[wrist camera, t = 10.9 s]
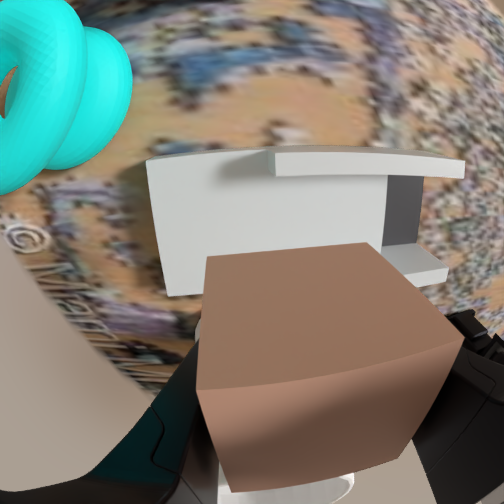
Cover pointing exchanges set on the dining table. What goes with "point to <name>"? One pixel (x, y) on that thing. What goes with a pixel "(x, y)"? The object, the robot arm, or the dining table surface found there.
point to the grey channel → (291, 205)
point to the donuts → (56, 89)
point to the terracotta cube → (315, 363)
